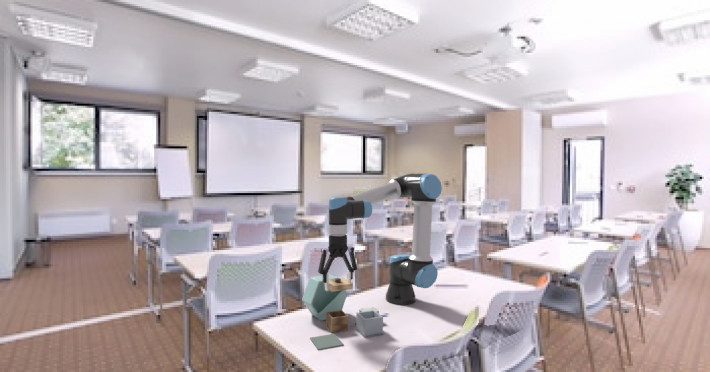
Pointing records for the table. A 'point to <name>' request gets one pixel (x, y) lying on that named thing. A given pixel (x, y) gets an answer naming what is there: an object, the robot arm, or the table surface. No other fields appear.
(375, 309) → the pale green block
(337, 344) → the felt mat
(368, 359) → the table surface
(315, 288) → the planter
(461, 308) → the table surface
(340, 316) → the walnut box
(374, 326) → the blue-grey box
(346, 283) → the lid
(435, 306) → the table surface
